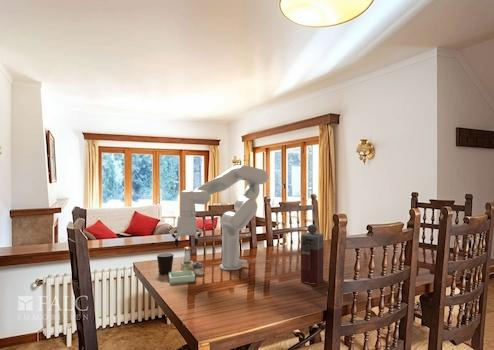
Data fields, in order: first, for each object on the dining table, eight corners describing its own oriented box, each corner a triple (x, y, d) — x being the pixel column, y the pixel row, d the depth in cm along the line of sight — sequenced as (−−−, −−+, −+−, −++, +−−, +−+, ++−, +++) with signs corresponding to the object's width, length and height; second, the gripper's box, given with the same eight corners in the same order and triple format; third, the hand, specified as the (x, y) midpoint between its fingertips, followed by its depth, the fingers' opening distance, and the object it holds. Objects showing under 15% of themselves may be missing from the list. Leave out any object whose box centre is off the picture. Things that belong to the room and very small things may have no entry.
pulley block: (201, 270, 183) (201, 259, 183) (203, 274, 176) (203, 263, 176) (180, 272, 180) (180, 261, 180) (182, 276, 173) (182, 264, 173)
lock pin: (190, 267, 179) (190, 246, 179) (190, 268, 176) (191, 247, 176) (183, 267, 178) (183, 247, 178) (184, 269, 175) (184, 248, 175)
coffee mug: (169, 276, 173) (169, 257, 173) (153, 275, 174) (154, 256, 174) (178, 270, 184) (178, 251, 184) (163, 269, 186) (163, 251, 186)
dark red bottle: (298, 283, 162) (299, 225, 162) (306, 277, 172) (306, 222, 172) (317, 286, 158) (317, 227, 158) (323, 280, 167) (323, 224, 167)
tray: (192, 276, 173) (192, 270, 173) (194, 281, 164) (195, 275, 164) (168, 278, 170) (168, 272, 170) (169, 284, 160) (169, 277, 160)
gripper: (202, 213, 183) (201, 244, 183) (169, 213, 178) (168, 245, 178) (204, 214, 176) (203, 247, 176) (170, 214, 171) (170, 248, 171)
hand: (186, 246), depth 177 cm, fingers open, 9 cm apart
